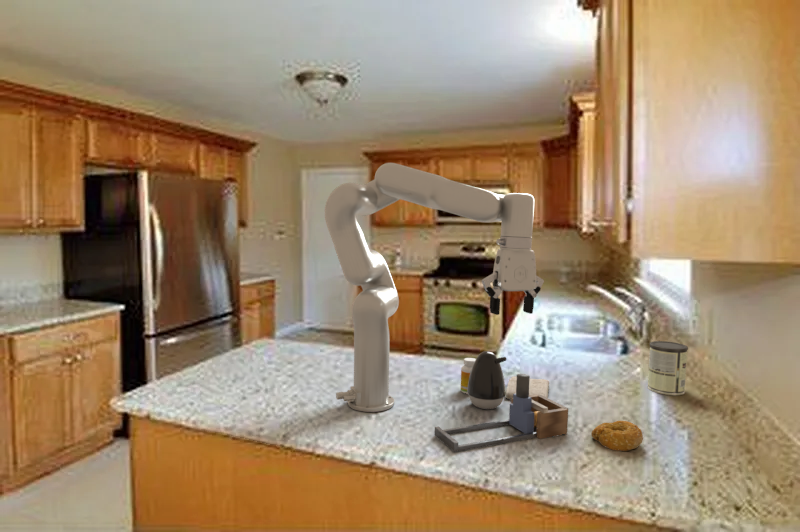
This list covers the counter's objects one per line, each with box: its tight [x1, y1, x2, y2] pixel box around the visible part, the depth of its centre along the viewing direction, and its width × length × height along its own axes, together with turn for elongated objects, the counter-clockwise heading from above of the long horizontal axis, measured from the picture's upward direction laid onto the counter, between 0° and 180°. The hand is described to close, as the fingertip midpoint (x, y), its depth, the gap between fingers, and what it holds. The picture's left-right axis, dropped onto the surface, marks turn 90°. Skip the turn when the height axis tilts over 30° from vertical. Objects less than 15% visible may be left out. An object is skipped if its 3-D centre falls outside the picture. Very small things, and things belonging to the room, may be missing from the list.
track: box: [434, 418, 537, 453], centre depth 119 cm, size 22×9×2 cm, turn 113°
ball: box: [534, 411, 540, 429], centre depth 124 cm, size 4×4×4 cm
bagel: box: [591, 420, 644, 452], centre depth 117 cm, size 10×11×5 cm
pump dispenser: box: [467, 350, 507, 410], centre depth 138 cm, size 10×10×15 cm
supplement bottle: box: [460, 357, 476, 395], centre depth 150 cm, size 5×5×10 cm
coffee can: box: [647, 340, 689, 396], centre depth 155 cm, size 10×10×14 cm
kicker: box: [508, 373, 535, 434], centre depth 122 cm, size 3×7×13 cm, turn 23°
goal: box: [510, 393, 569, 440], centre depth 124 cm, size 9×11×7 cm
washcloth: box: [505, 375, 550, 400], centre depth 151 cm, size 12×18×3 cm, turn 163°
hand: (511, 313), depth 126 cm, fingers open, 9 cm apart
